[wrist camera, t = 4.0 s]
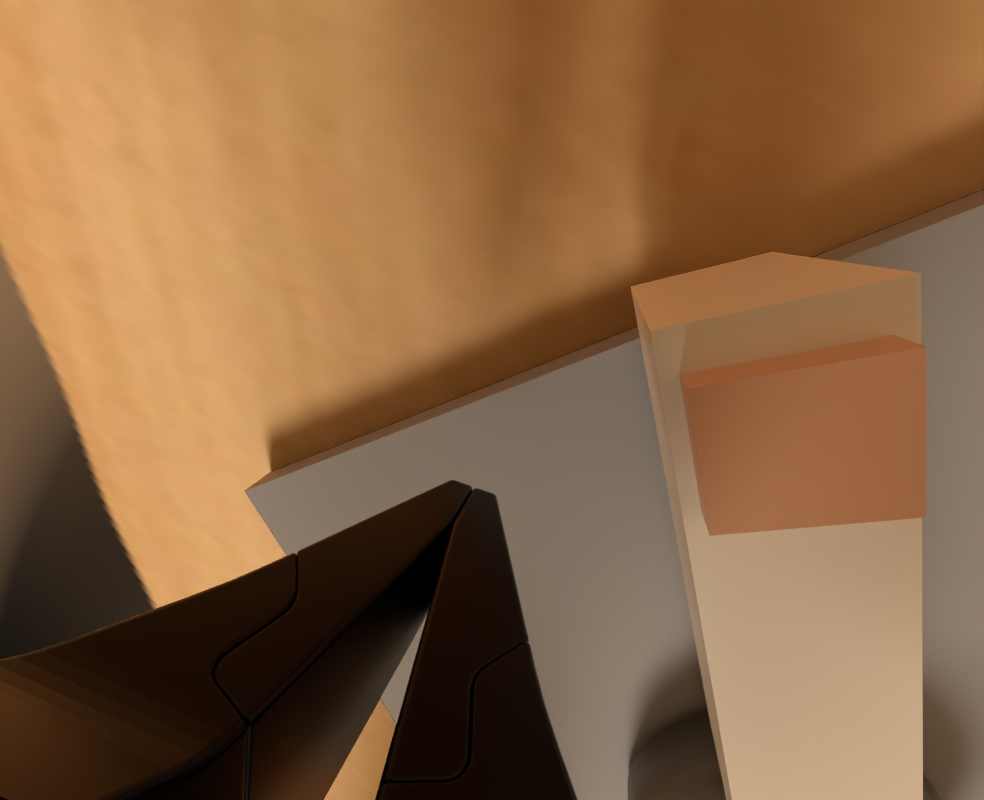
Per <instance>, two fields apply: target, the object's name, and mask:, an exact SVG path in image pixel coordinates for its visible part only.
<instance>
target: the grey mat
mask: <svg viewBox="0 0 984 800" xmlns="http://www.w3.org/2000/svg"><path fill="white" fill-rule="evenodd" d="M813 258H819V259H827V260H834V261H841V262H848V263H855V264H862V265H869V266H876V267H883V268H890V269H898V270H905V271H912V272H919V273H921V345H922V346H925V347H926V518H922V674H923V774H924V775H925V777H926V778H927V779H928V780H929V781H930V783H931V784H932V785H933V787H934V788H935V790H936V792H937V794H938V795H939V797H940V799H941V800H984V190H982V191H979V192H977V193H974V194H972V195H969V196H966V197H964V198H961V199H959V200H956V201H954V202H951V203H949V204H946V205H944V206H941V207H939V208H936V209H934V210H931V211H929V212H926V213H924V214H921V215H919V216H916V217H913V218H911V219H908V220H906V221H903V222H901V223H898V224H896V225H893V226H891V227H888V228H886V229H883V230H881V231H878V232H876V233H873V234H871V235H868V236H866V237H863V238H860V239H858V240H855V241H853V242H850V243H848V244H845V245H843V246H840V247H838V248H835V249H833V250H830V251H828V252H825V253H823V254H820V255H818V256H815V257H813ZM450 480H456V481H458V482H461V483H464V484H467V485H470V486H471V487H472V489H475V488H479V489H482V490H485V491H487V492H490V493H493V494H495V495H496V497H497V501H498V506H499V510H500V515H501V519H502V523H503V528H504V532H505V537H506V541H507V545H508V550H509V554H510V559H511V563H512V567H513V572H514V576H515V581H516V585H517V590H518V594H519V598H520V603H521V607H522V612H523V616H524V620H525V625H526V629H527V634H528V638H529V642H528V643H529V644H530V646H531V650H532V655H533V659H534V663H535V668H536V672H537V676H538V679H539V683H540V687H541V691H542V695H543V698H544V702H545V706H546V709H547V712H548V715H549V718H550V721H551V724H552V727H553V730H554V733H555V736H556V739H557V742H558V745H559V748H560V751H561V754H562V757H563V760H564V763H565V765H566V768H567V771H568V774H569V777H570V779H571V782H572V785H573V788H574V791H575V793H576V796H577V799H578V800H628V792H627V788H628V776H629V772H630V768H631V766H632V764H633V762H634V760H635V758H636V756H637V755H638V754H639V752H640V751H641V750H642V748H643V747H644V746H645V745H646V744H647V743H648V742H650V741H651V740H652V739H653V738H654V737H656V736H657V735H659V734H660V733H662V732H663V731H665V730H666V729H668V728H670V727H673V726H675V725H677V724H679V723H681V722H684V721H687V720H690V719H693V718H696V717H699V716H704V715H708V710H707V704H706V699H705V693H704V688H703V682H702V677H701V671H700V666H699V660H698V655H697V649H696V644H695V638H694V633H693V627H692V622H691V616H690V611H689V605H688V600H687V594H686V589H685V583H684V578H683V572H682V567H681V561H680V556H679V550H678V545H677V539H676V534H675V528H674V523H673V517H672V512H671V506H670V501H669V495H668V490H667V484H666V479H665V473H664V468H663V462H662V457H661V451H660V446H659V440H658V435H657V429H656V424H655V418H654V413H653V407H652V402H651V396H650V391H649V385H648V380H647V374H646V369H645V363H644V358H643V352H642V347H641V341H640V336H639V330H638V327H636V328H633V329H631V330H628V331H626V332H623V333H621V334H618V335H616V336H613V337H611V338H608V339H606V340H603V341H601V342H598V343H596V344H593V345H590V346H588V347H585V348H583V349H580V350H578V351H575V352H573V353H570V354H568V355H565V356H563V357H560V358H558V359H555V360H553V361H550V362H548V363H545V364H543V365H540V366H537V367H535V368H532V369H530V370H527V371H525V372H522V373H520V374H517V375H515V376H512V377H510V378H507V379H505V380H502V381H500V382H497V383H495V384H492V385H490V386H487V387H484V388H482V389H479V390H477V391H474V392H472V393H469V394H467V395H464V396H462V397H459V398H457V399H454V400H452V401H449V402H447V403H444V404H442V405H439V406H437V407H434V408H431V409H429V410H426V411H424V412H421V413H419V414H416V415H414V416H411V417H409V418H406V419H404V420H401V421H399V422H396V423H394V424H391V425H389V426H386V427H384V428H381V429H378V430H376V431H373V432H371V433H368V434H366V435H363V436H361V437H358V438H356V439H353V440H351V441H348V442H346V443H343V444H341V445H338V446H336V447H333V448H331V449H328V450H325V451H323V452H320V453H318V454H315V455H313V456H310V457H308V458H305V459H303V460H300V461H298V462H295V463H293V464H290V465H288V466H285V467H283V468H280V469H278V470H275V471H272V472H270V473H268V474H267V475H266V476H264V477H263V478H262V479H260V480H259V481H257V482H256V483H255V484H253V485H252V486H251V487H249V488H248V489H247V490H245V492H246V494H247V496H248V497H249V499H250V500H251V502H252V503H253V505H254V506H255V508H256V509H257V511H258V512H259V514H260V515H261V517H262V519H263V520H264V522H265V523H266V525H267V526H268V528H269V529H270V531H271V532H272V534H273V535H274V537H275V538H276V540H277V542H278V543H279V545H280V546H281V548H282V549H283V551H284V552H285V554H286V555H290V554H292V553H295V554H296V555H297V552H298V551H299V550H301V549H303V548H305V547H307V546H309V545H312V544H314V543H316V542H318V541H320V540H322V539H325V538H327V537H329V536H331V535H333V534H335V533H337V532H340V531H342V530H344V529H346V528H348V527H350V526H353V525H355V524H357V523H359V522H361V521H363V520H365V519H368V518H370V517H372V516H374V515H376V514H378V513H381V512H383V511H385V510H387V509H389V508H391V507H393V506H396V505H398V504H400V503H402V502H404V501H406V500H409V499H411V498H413V497H415V496H417V495H419V494H421V493H424V492H426V491H428V490H430V489H432V488H434V487H437V486H439V485H441V484H443V483H445V482H447V481H450ZM426 617H427V615H426ZM426 617H425V619H424V621H423V623H422V625H421V626H420V628H419V630H418V632H417V633H416V635H415V637H414V639H413V641H412V642H411V644H410V646H409V648H408V650H407V651H406V653H405V655H404V657H403V659H402V660H401V662H400V664H399V666H398V667H397V669H396V671H395V673H394V675H393V676H392V678H391V680H390V682H389V684H388V685H387V687H386V689H385V691H384V692H383V694H382V696H381V698H380V699H381V701H382V702H383V704H384V706H385V707H386V709H387V710H388V712H389V713H390V715H391V716H392V718H393V719H394V721H395V722H396V724H397V720H398V717H399V713H400V709H401V706H402V702H403V699H404V695H405V692H406V688H407V684H408V681H409V677H410V674H411V670H412V667H413V663H414V659H415V656H416V652H417V649H418V645H419V642H420V638H421V634H422V631H423V627H424V624H425V620H426Z"/></svg>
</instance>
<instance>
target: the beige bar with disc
mask: <svg viewBox="0 0 984 800" xmlns="http://www.w3.org/2000/svg"><path fill="white" fill-rule="evenodd" d="M631 292H632V297H633V303H634V308H635V314H636V319H637V325H638V330H639V336H640V341H641V347H642V352H643V358H644V363H645V369H646V374H647V380H648V385H649V391H650V396H651V402H652V407H653V413H654V418H655V424H656V429H657V435H658V440H659V446H660V451H661V457H662V462H663V468H664V473H665V479H666V484H667V490H668V495H669V501H670V506H671V512H672V517H673V523H674V528H675V534H676V539H677V545H678V550H679V556H680V561H681V567H682V572H683V578H684V583H685V589H686V594H687V600H688V605H689V611H690V616H691V622H692V627H693V633H694V638H695V644H696V649H697V655H698V660H699V666H700V671H701V677H702V682H703V688H704V693H705V699H706V704H707V710H708V715H704V716H699V717H696V718H693V719H690V720H687V721H684V722H681V723H679V724H677V725H675V726H673V727H670V728H668V729H666V730H665V731H663V732H662V733H660V734H659V735H657V736H656V737H654V738H653V739H652V740H651V741H650V742H648V743H647V744H646V745H645V746H644V747H643V748H642V750H641V751H640V752H639V754H638V755H637V756H636V758H635V760H634V762H633V764H632V766H631V768H630V772H629V776H628V788H627V792H628V800H941V799H940V797H939V795H938V794H937V792H936V790H935V788H934V787H933V785H932V784H931V783H930V781H929V780H928V779H927V778H926V777H925V775H924V774H923V674H922V518H926V347H925V346H922V345H921V273H919V272H912V271H905V270H898V269H890V268H883V267H876V266H869V265H862V264H855V263H848V262H841V261H834V260H827V259H819V258H812V257H805V256H798V255H791V254H784V253H777V252H769V253H765V254H761V255H757V256H753V257H749V258H745V259H741V260H737V261H732V262H728V263H724V264H720V265H716V266H712V267H708V268H704V269H700V270H696V271H692V272H688V273H684V274H679V275H675V276H671V277H667V278H663V279H659V280H655V281H651V282H647V283H643V284H639V285H635V286H631Z"/></svg>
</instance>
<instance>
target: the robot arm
mask: <svg viewBox="0 0 984 800" xmlns="http://www.w3.org/2000/svg"><path fill="white" fill-rule="evenodd" d="M426 615H427V617H426ZM425 617H426V620H425V624H424V627H423V631H422V634H421V638H420V642H419V645H418V649H417V652H416V656H415V659H414V663H413V667H412V670H411V674H410V677H409V681H408V684H407V688H406V692H405V695H404V699H403V702H402V706H401V709H400V713H399V717H398V720H397V724H396V727H395V731H394V734H393V738H392V742H391V745H390V749H389V752H388V756H387V759H386V763H385V767H384V770H383V774H382V777H381V781H380V785H379V789H378V792H377V795H376V799H375V800H578V799H577V796H576V793H575V791H574V788H573V785H572V782H571V779H570V777H569V774H568V771H567V768H566V765H565V763H564V760H563V757H562V754H561V751H560V748H559V745H558V742H557V739H556V736H555V733H554V730H553V727H552V724H551V721H550V718H549V715H548V712H547V709H546V706H545V702H544V698H543V695H542V691H541V687H540V683H539V679H538V676H537V672H536V668H535V663H534V659H533V655H532V650H531V646H530V644H529V643H528V642H529V638H528V634H527V629H526V625H525V620H524V616H523V612H522V607H521V603H520V598H519V594H518V590H517V585H516V581H515V576H514V572H513V567H512V563H511V559H510V554H509V550H508V545H507V541H506V537H505V532H504V528H503V523H502V519H501V515H500V510H499V506H498V501H497V497H496V495H495V494H493V493H490V492H487V491H485V490H482V489H479V488H475V489H472V487H471V486H470V485H467V484H464V483H461V482H458V481H456V480H450V481H447V482H445V483H443V484H441V485H439V486H437V487H434V488H432V489H430V490H428V491H426V492H424V493H421V494H419V495H417V496H415V497H413V498H411V499H409V500H406V501H404V502H402V503H400V504H398V505H396V506H393V507H391V508H389V509H387V510H385V511H383V512H381V513H378V514H376V515H374V516H372V517H370V518H368V519H365V520H363V521H361V522H359V523H357V524H355V525H353V526H350V527H348V528H346V529H344V530H342V531H340V532H337V533H335V534H333V535H331V536H329V537H327V538H325V539H322V540H320V541H318V542H316V543H314V544H312V545H309V546H307V547H305V548H303V549H301V550H299V551H298V552H297V555H296V554H295V553H292V554H290V555H287V556H285V557H283V558H281V559H279V560H277V561H275V562H272V563H270V564H268V565H266V566H263V567H261V568H259V569H256V570H254V571H252V572H250V573H247V574H245V575H243V576H240V577H238V578H236V579H233V580H231V581H228V582H226V583H223V584H221V585H218V586H215V587H213V588H210V589H208V590H205V591H202V592H200V593H197V594H195V595H192V596H189V597H187V598H184V599H181V600H179V601H176V602H173V603H170V604H168V605H165V606H162V607H159V608H157V609H154V610H151V611H148V612H146V613H143V614H140V615H137V616H135V617H132V618H129V619H126V620H124V621H121V622H118V623H116V624H113V625H110V626H107V627H104V628H102V629H99V630H96V631H93V632H91V633H88V634H85V635H82V636H80V637H77V638H74V639H71V640H69V641H66V642H63V643H60V644H57V645H54V646H51V647H48V648H45V649H42V650H38V651H35V652H31V653H27V654H23V655H20V656H15V657H11V658H5V659H1V660H0V800H324V798H325V796H326V794H327V793H328V791H329V789H330V787H331V785H332V784H333V782H334V780H335V778H336V777H337V775H338V773H339V771H340V769H341V768H342V766H343V764H344V762H345V760H346V759H347V757H348V755H349V753H350V751H351V750H352V748H353V746H354V744H355V743H356V741H357V739H358V737H359V735H360V734H361V732H362V730H363V728H364V726H365V725H366V723H367V721H368V719H369V718H370V716H371V714H372V712H373V710H374V709H375V707H376V705H377V703H378V701H379V700H380V698H381V696H382V694H383V692H384V691H385V689H386V687H387V685H388V684H389V682H390V680H391V678H392V676H393V675H394V673H395V671H396V669H397V667H398V666H399V664H400V662H401V660H402V659H403V657H404V655H405V653H406V651H407V650H408V648H409V646H410V644H411V642H412V641H413V639H414V637H415V635H416V633H417V632H418V630H419V628H420V626H421V625H422V623H423V621H424V619H425Z"/></svg>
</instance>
